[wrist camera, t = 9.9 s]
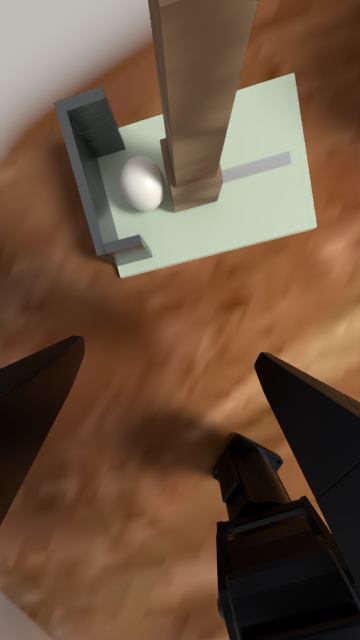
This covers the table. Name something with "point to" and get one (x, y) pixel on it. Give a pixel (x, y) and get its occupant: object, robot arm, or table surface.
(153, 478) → the table surface
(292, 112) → the pitch
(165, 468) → the table surface
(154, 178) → the ball
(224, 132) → the block
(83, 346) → the robot arm
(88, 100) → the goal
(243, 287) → the table surface
